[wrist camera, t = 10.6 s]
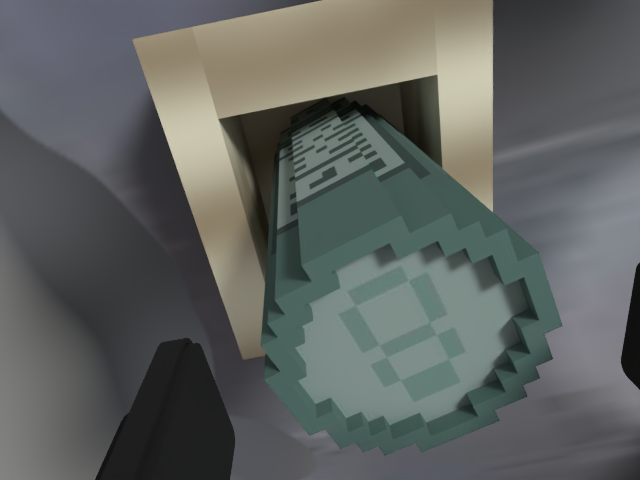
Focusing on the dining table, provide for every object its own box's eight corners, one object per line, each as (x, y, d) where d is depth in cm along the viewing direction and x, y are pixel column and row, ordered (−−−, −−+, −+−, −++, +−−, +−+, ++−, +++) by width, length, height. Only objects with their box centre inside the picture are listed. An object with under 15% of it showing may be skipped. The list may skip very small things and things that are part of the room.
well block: (444, 246, 26) (492, 311, 20) (252, 283, 26) (243, 359, 20) (429, -15, 20) (492, -35, 14) (178, 36, 20) (132, 39, 14)
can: (312, 231, 24) (347, 482, 11) (255, 137, 22) (209, 311, 8) (410, 181, 23) (582, 386, 10) (363, 76, 21) (508, 161, 7)
